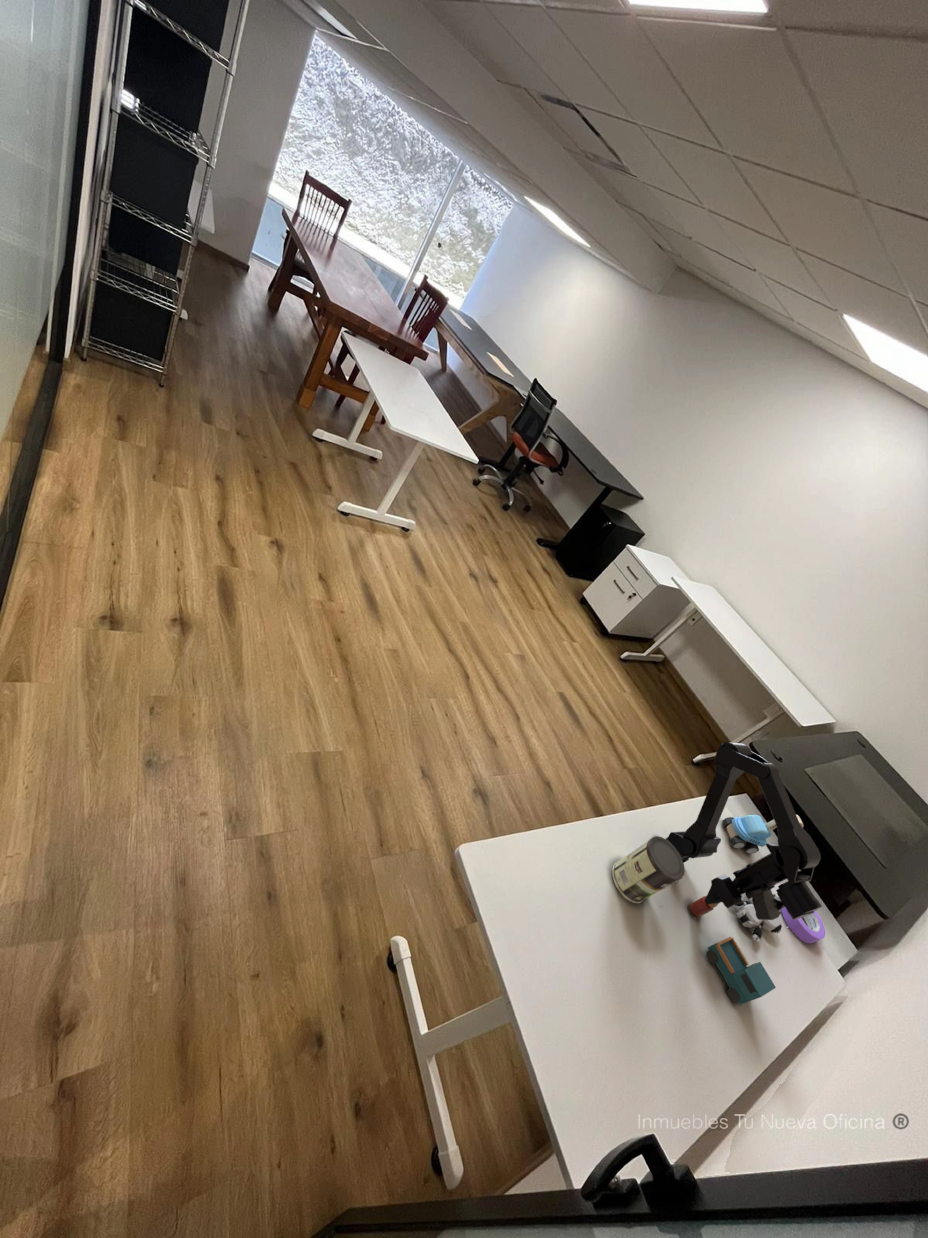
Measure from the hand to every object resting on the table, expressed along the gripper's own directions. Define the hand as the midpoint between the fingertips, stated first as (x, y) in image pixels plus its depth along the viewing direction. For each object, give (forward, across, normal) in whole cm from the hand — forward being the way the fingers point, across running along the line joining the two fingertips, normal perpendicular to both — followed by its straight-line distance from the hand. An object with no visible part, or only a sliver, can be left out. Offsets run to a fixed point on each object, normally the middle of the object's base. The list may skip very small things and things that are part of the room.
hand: (716, 898), depth 133 cm
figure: (+8, 0, 0) cm, 8 cm away
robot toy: (+8, +21, -6) cm, 23 cm away
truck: (+8, -1, -14) cm, 16 cm away
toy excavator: (+8, +40, +12) cm, 43 cm away
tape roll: (+8, +41, -12) cm, 43 cm away
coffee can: (+8, -18, +10) cm, 22 cm away
